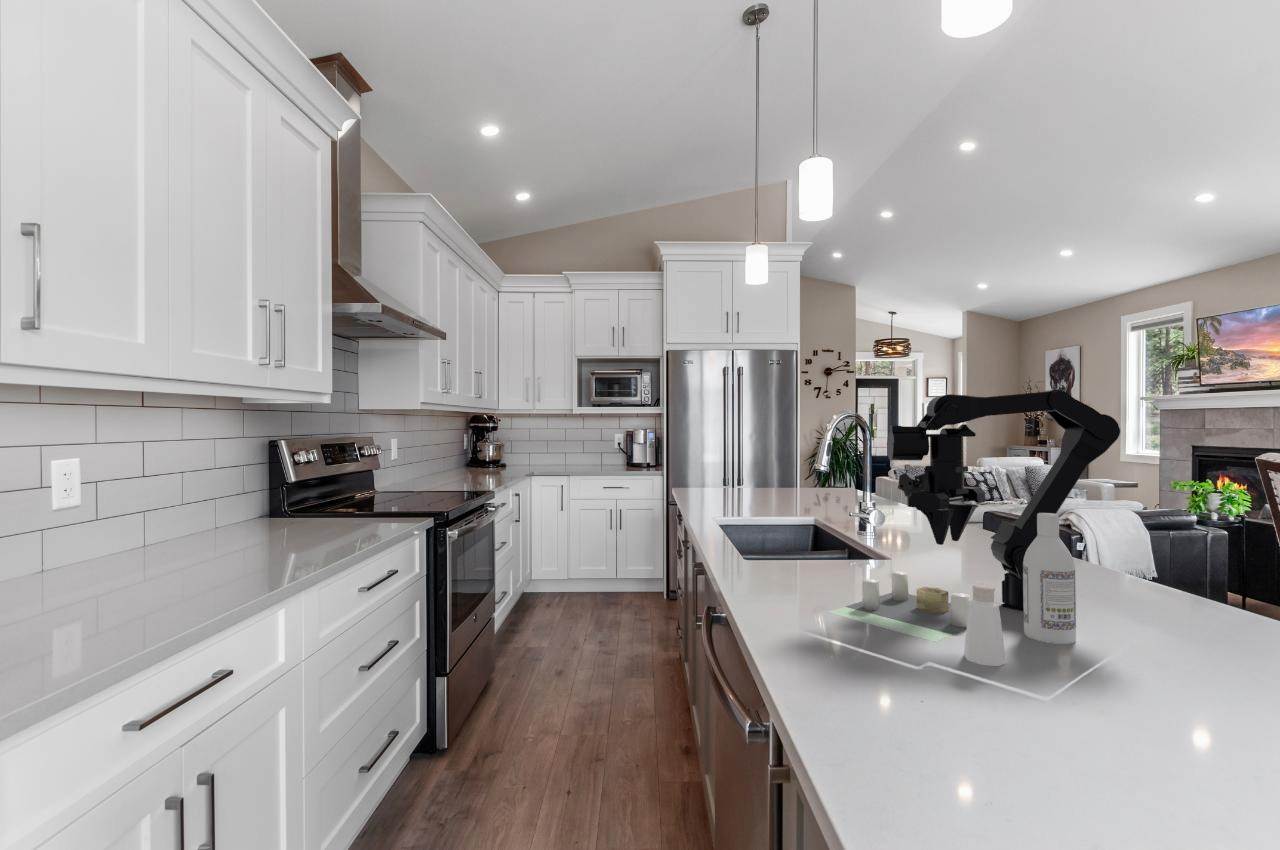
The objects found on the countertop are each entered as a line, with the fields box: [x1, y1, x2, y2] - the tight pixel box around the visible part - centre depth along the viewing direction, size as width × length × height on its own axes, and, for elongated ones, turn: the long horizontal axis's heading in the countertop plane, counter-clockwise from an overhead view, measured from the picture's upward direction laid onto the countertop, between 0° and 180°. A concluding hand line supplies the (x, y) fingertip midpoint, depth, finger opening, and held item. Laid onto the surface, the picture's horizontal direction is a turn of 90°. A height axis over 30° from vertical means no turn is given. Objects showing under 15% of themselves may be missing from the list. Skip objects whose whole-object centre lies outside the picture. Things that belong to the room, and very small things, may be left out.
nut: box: [916, 586, 950, 614], centre depth 113 cm, size 5×5×4 cm
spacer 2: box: [891, 570, 909, 601], centre depth 120 cm, size 3×3×5 cm
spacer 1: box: [861, 578, 881, 610], centre depth 114 cm, size 3×3×5 cm
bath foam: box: [1023, 513, 1077, 645], centre depth 98 cm, size 7×7×20 cm
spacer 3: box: [950, 592, 972, 628], centre depth 104 cm, size 3×3×5 cm
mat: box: [827, 592, 967, 643], centre depth 111 cm, size 20×23×1 cm
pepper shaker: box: [963, 583, 1007, 667], centre depth 89 cm, size 5×5×11 cm
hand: (947, 542), depth 117 cm, fingers open, 6 cm apart
